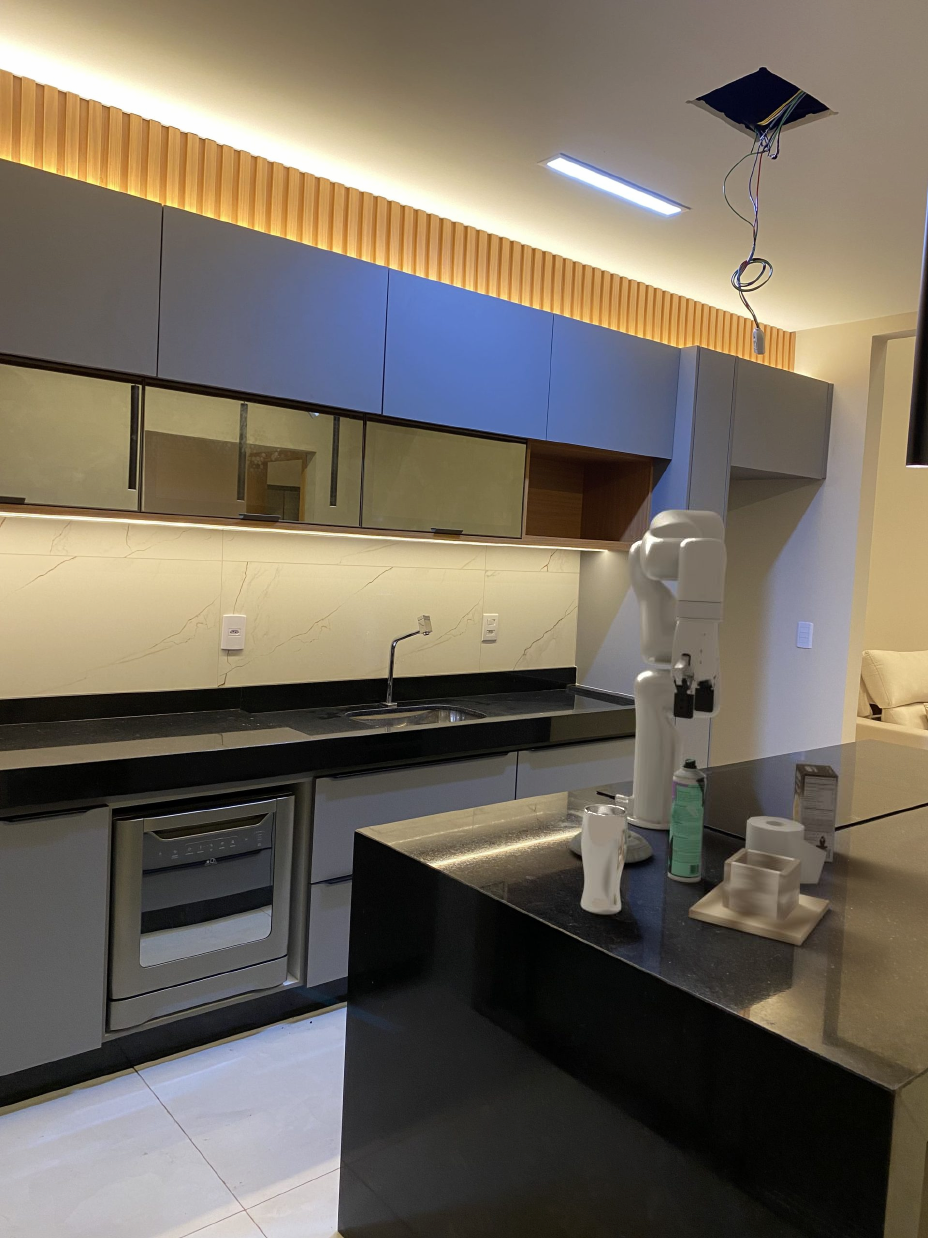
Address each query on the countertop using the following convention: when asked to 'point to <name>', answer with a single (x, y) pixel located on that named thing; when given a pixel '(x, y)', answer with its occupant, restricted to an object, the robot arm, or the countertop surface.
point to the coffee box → (816, 805)
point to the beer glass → (603, 856)
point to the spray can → (687, 823)
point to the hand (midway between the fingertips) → (693, 714)
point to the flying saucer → (635, 847)
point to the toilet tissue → (785, 844)
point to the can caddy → (762, 898)
